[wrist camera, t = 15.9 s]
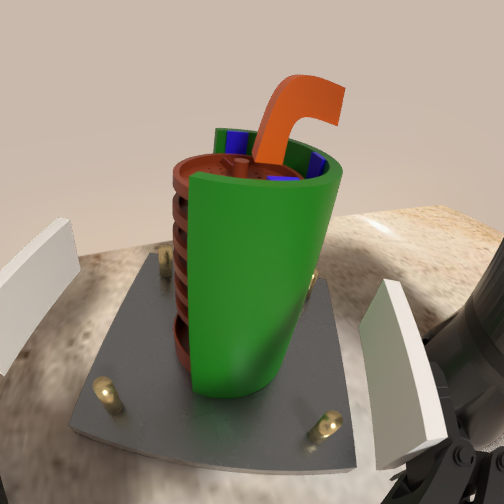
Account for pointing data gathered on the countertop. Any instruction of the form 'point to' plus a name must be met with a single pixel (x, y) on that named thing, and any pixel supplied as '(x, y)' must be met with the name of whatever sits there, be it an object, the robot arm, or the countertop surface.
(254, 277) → the motor
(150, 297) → the plate
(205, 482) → the countertop surface
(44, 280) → the robot arm
